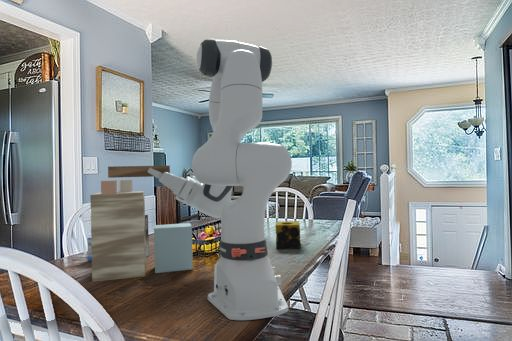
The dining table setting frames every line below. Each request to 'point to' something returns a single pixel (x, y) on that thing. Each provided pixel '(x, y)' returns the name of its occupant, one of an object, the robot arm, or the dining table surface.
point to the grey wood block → (118, 235)
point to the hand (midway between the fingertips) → (148, 169)
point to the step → (173, 247)
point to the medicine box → (89, 249)
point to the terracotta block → (108, 187)
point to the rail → (134, 171)
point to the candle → (288, 235)
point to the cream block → (124, 185)
